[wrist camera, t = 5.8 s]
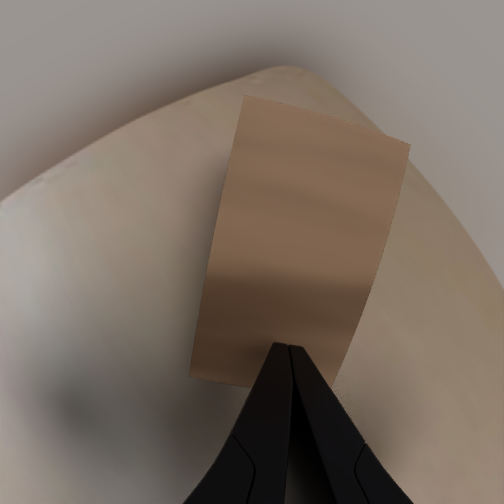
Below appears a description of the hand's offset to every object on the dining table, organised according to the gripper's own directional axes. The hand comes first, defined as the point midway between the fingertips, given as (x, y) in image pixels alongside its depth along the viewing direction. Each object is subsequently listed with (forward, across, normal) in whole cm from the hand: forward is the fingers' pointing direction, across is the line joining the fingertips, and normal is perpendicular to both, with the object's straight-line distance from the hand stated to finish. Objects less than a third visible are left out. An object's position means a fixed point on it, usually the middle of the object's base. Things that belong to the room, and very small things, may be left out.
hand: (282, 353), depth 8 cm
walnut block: (+3, 0, +3) cm, 5 cm away
